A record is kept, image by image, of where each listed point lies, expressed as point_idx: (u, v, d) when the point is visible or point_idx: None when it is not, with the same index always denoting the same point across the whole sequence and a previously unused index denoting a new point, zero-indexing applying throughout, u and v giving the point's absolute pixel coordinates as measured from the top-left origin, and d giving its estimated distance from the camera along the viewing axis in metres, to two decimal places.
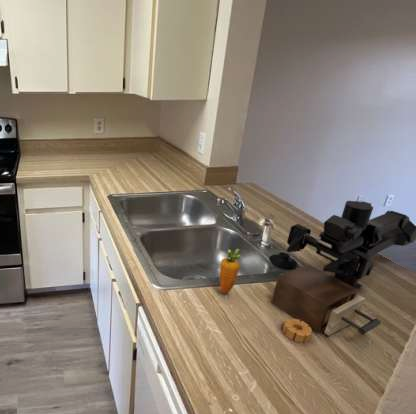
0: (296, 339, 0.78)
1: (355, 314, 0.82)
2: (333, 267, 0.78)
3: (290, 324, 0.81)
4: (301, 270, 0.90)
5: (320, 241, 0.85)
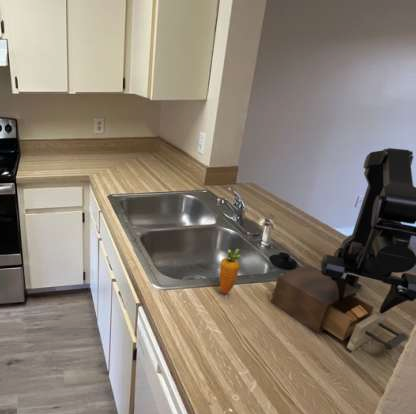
0: (357, 314, 0.76)
1: (379, 327, 0.78)
2: None
3: None
4: (301, 270, 0.90)
5: None
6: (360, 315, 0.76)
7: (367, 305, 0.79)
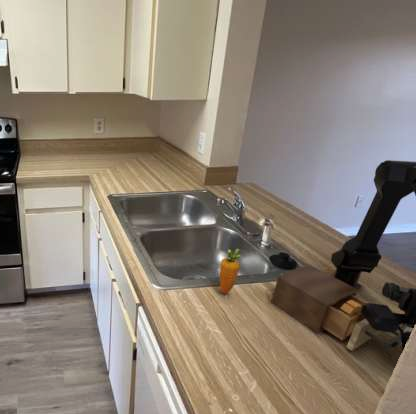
0: (353, 305, 0.79)
1: None
2: (403, 344, 0.70)
3: None
4: (301, 270, 0.90)
5: None
6: (356, 305, 0.79)
7: None
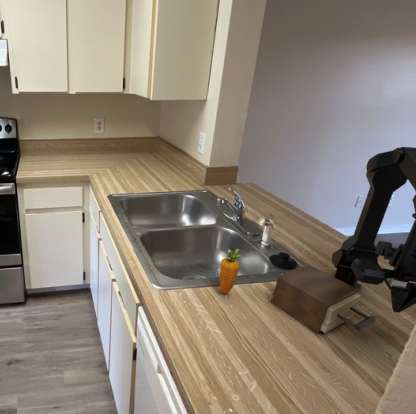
0: None
1: (351, 312, 0.83)
2: (392, 301, 0.70)
3: None
4: (301, 270, 0.90)
5: None
6: None
7: None
